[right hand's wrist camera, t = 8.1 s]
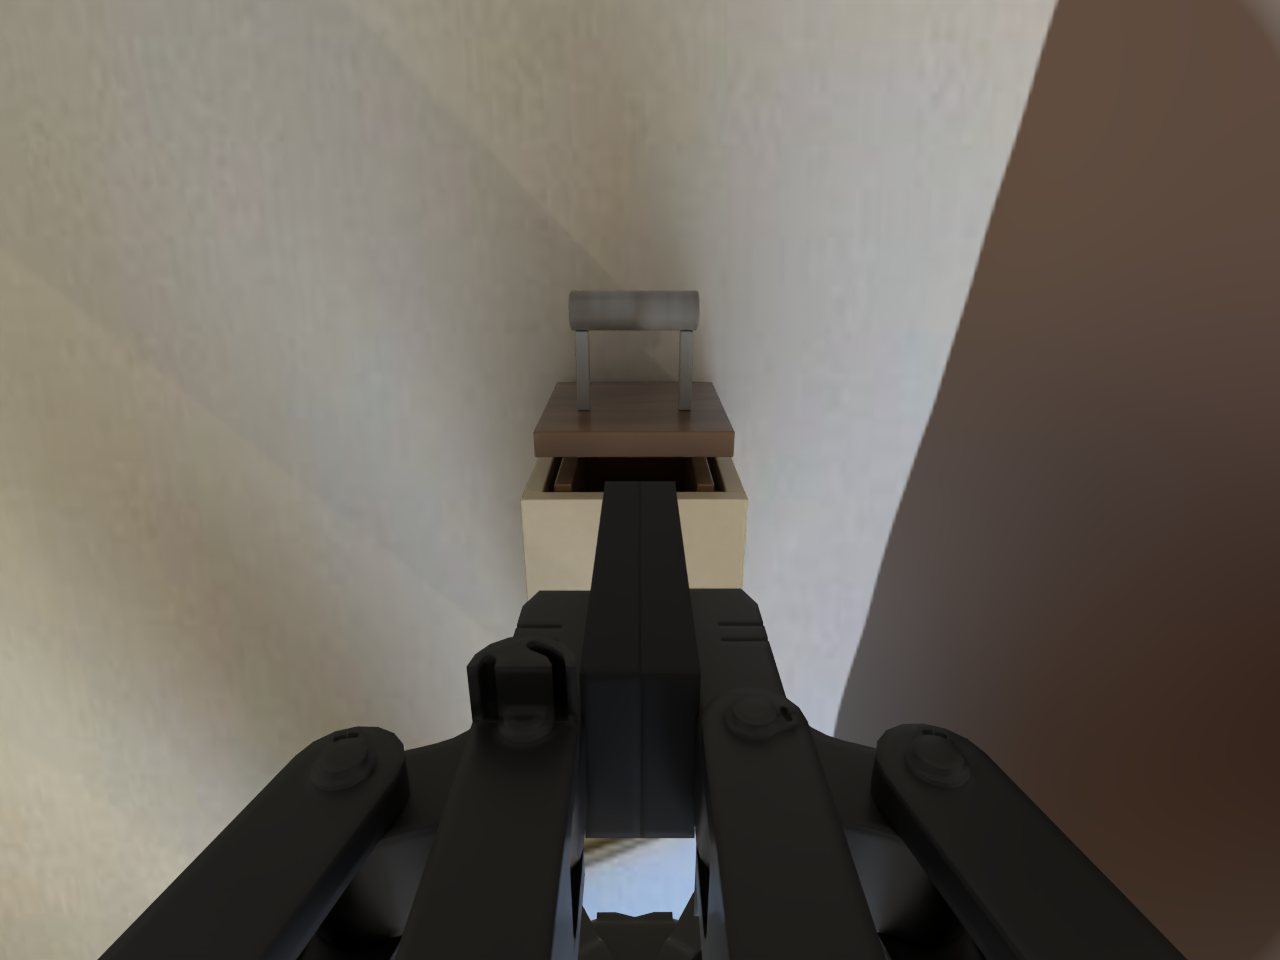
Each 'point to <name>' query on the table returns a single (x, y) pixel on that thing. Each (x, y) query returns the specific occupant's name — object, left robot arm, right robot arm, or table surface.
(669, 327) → the drawer
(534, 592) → the cabinet
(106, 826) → the table surface
